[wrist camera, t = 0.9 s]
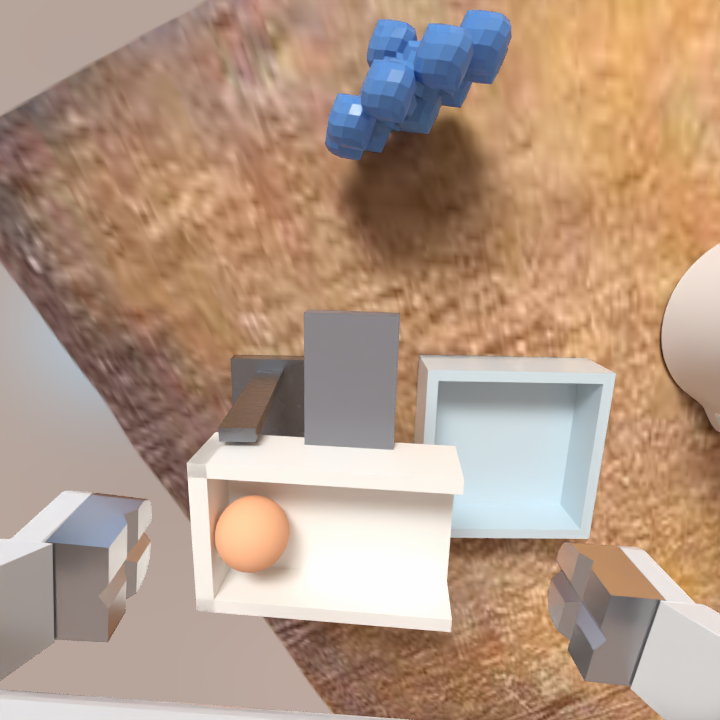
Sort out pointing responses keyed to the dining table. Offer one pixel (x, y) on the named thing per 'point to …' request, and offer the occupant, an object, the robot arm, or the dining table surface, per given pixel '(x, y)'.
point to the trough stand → (265, 398)
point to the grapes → (416, 79)
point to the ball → (252, 533)
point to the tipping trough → (336, 495)
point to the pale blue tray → (518, 440)
